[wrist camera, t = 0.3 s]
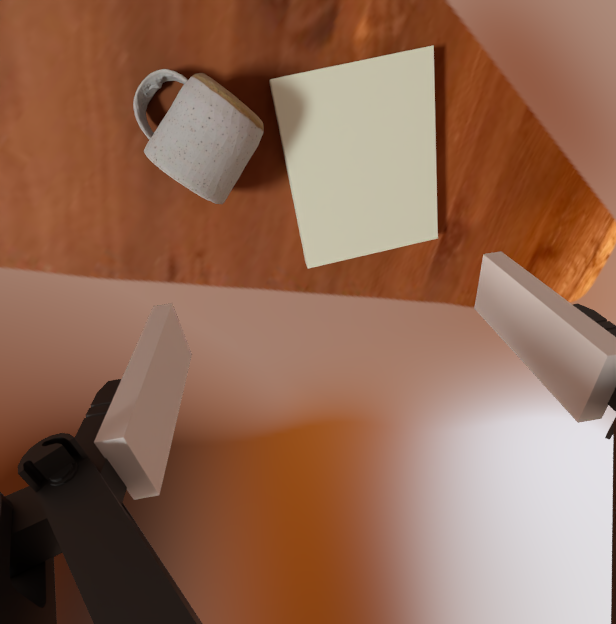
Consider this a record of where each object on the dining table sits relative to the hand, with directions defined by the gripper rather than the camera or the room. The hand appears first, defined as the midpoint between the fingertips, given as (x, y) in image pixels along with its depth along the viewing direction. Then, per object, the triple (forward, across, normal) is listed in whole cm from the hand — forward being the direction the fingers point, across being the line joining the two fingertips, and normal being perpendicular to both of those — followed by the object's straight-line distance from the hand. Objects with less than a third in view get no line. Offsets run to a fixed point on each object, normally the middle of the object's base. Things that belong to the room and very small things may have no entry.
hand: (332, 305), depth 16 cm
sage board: (+26, +7, -1) cm, 27 cm away
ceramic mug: (+26, -8, +4) cm, 28 cm away
